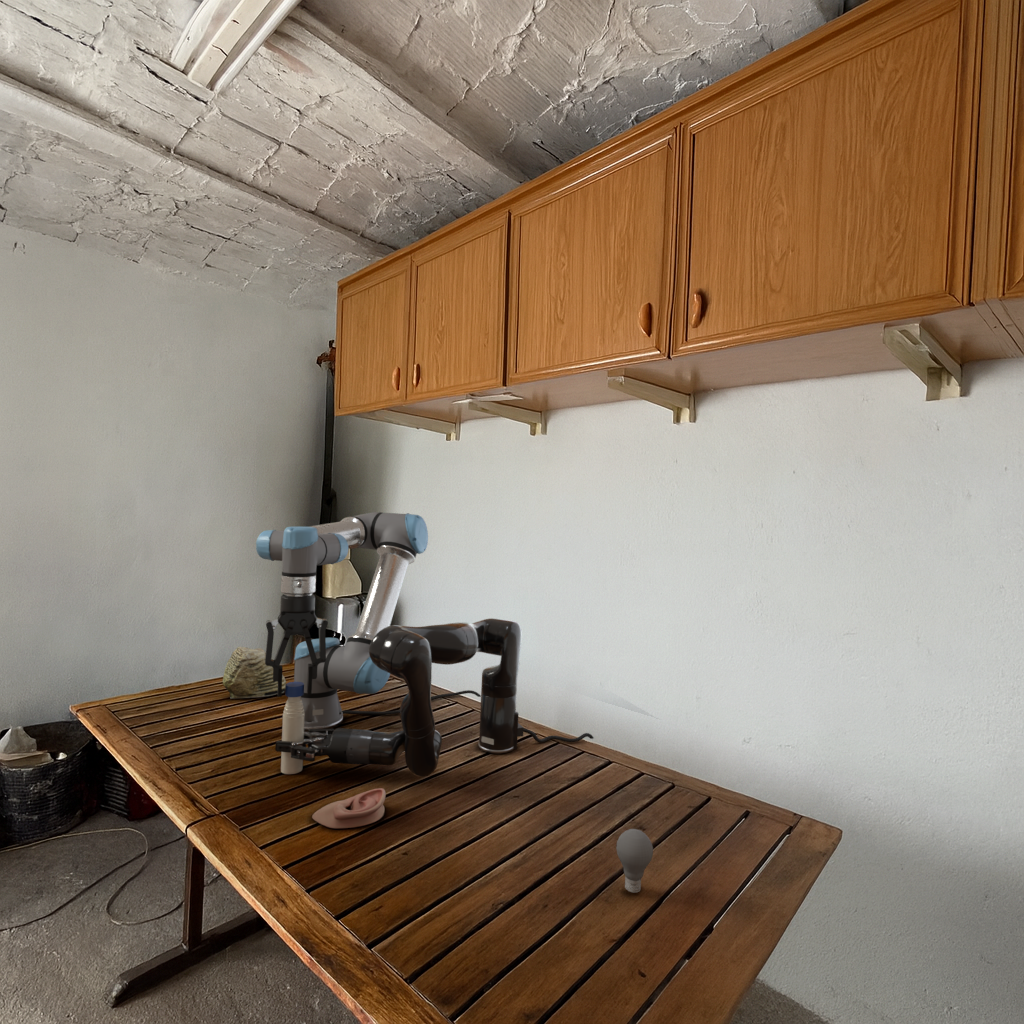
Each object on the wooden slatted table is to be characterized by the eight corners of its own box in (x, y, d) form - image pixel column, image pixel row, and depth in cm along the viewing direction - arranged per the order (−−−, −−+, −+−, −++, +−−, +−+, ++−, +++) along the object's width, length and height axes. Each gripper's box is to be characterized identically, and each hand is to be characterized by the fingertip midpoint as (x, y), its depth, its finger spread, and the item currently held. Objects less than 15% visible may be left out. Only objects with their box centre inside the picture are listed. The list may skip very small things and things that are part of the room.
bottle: (306, 770, 146) (309, 688, 146) (286, 776, 143) (289, 691, 142) (296, 763, 149) (299, 683, 149) (276, 769, 146) (280, 686, 146)
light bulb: (610, 879, 108) (613, 822, 108) (644, 879, 109) (647, 822, 109) (619, 902, 102) (622, 840, 102) (655, 901, 103) (658, 840, 103)
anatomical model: (304, 803, 122) (333, 778, 133) (303, 824, 122) (332, 797, 133) (368, 813, 119) (392, 787, 131) (368, 834, 119) (391, 806, 131)
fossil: (218, 695, 195) (220, 647, 195) (278, 685, 208) (279, 640, 207) (228, 703, 189) (230, 653, 188) (289, 692, 201) (290, 645, 201)
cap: (307, 694, 146) (307, 684, 146) (290, 698, 143) (291, 687, 143) (298, 690, 149) (298, 680, 149) (281, 694, 146) (282, 683, 146)
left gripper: (254, 597, 138) (250, 702, 139) (342, 595, 146) (338, 695, 146) (253, 592, 145) (250, 692, 146) (338, 590, 152) (334, 686, 153)
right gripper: (363, 719, 152) (294, 715, 153) (344, 742, 138) (267, 736, 139) (362, 750, 152) (293, 745, 153) (342, 776, 138) (266, 770, 139)
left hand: (294, 693), depth 146 cm, fingers open, 6 cm apart
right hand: (281, 741), depth 146 cm, fingers closed on bottle, 5 cm apart
